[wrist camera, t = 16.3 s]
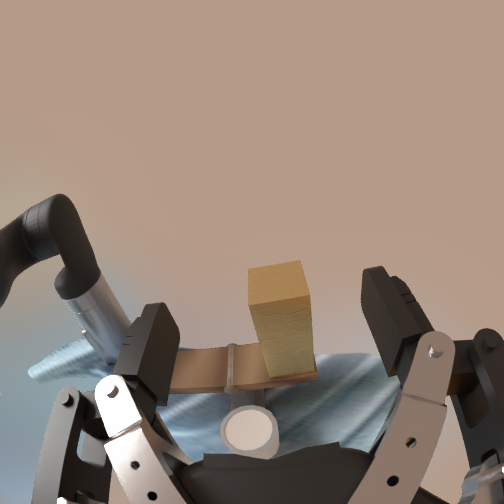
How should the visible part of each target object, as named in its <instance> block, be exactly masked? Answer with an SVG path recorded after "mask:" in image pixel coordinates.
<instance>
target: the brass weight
mask: <svg viewBox="0 0 504 504" xmlns="http://www.w3.org/2000/svg"><path fill="white" fill-rule="evenodd" d="M248 296H249V297H248V298H249V309H250V312H251V315H252V319H253V323H254V326H255V330H256V333H257V336H258V340H259V343H260V347H261V350H262V354H263V357H264V360H265V364H266V367H267V371H268V374H269V377H270V379H276V378H283V377H289V376H296V375H302V374H307V373H313V372H314V353H313V335H312V317H311V304H310V293H309V290H308V286H307V283H306V279H305V276H304V272H303V269H302V265H301V262H300V260H299V261H293V262H288V263H282V264H276V265H270V266H264V267H259V268H252V269H248Z"/></svg>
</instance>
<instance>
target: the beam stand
mask: <svg viewBox="0 0 504 504" xmlns="http://www.w3.org/2000/svg"><path fill="white" fill-rule="evenodd" d="M227 395H228V397H229V398H230V412H231V411H232V410H235V409H237V408H239V407H241V406H248V405H255V406H260V407H263V408H265V398H264V389H255V390H245V391H238V393H237V394H233V395H230V394H227Z"/></svg>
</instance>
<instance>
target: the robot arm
mask: <svg viewBox="0 0 504 504" xmlns="http://www.w3.org/2000/svg"><path fill="white" fill-rule="evenodd" d="M58 254H60V255H61V257H62V260H63V262H64V264H65V267H64V268H63V269H62V270H61V271H60V272H59V274H58V275H57V277H56V279H55V282H54V284H55V289H56V290H57V292H58V294H59V295H60V297H61V298H62V300H63V301H64V303H65V304H66V306H67V307H68V309H69V310H70V312H71V313H72V315H73V316H74V317H75V319H76V320H77V321H78V323H79V324H80V326H81V327H82V334H83V336H84V337H85V338H86V340H87V341H88V342H89V343H90V345H91V346H92V347H93V348H94V350H95V351H96V352H97V353H98V354H99V356H100V357H101V358H102V359H103V360H104V361H105V363H106V364H107V365H108V364H110V363H114V364H116V365H115V367H114V370H113V373H112V375H110V376H107V377H105V378H104V379H102V380H101V382H100V383H99V384H98V386H97V388H96V390H92V391H87V392H84V393H81V392H80V391H78V390H77V389H76V388H75V387H73V386H68V387H65V388H63V389H62V390H61V391H60V392H59V393H58V395H57V397H56V400H55V402H54V405H53V408H52V412H51V415H50V418H49V421H48V425H47V428H46V432H45V436H44V439H43V443H42V447H41V451H40V456H39V460H38V466H37V470H36V476H35V481H34V487H33V494H32V502H31V504H108V501H109V489H110V481H111V472H112V466H113V468H114V470H115V472H116V474H117V477H118V479H119V481H120V483H121V485H122V487H123V489H124V491H125V493H126V495H127V497H128V499H129V500H130V502H131V504H449V503H447V502H446V501H444V500H442V499H440V498H438V497H437V496H435V495H433V494H432V493H430V492H428V491H427V490H425V489H423V488H421V487H420V486H419V485H420V483H421V481H422V479H423V477H424V475H425V472H426V470H427V468H428V466H429V463H430V460H431V458H432V455H433V453H434V450H435V448H436V445H437V442H438V439H439V436H440V434H441V430H442V427H443V424H444V421H445V417H446V413H447V406H446V405H445V398H446V396H448V395H450V397H451V400H452V403H453V406H454V409H455V412H456V415H457V419H458V422H459V425H460V429H461V432H462V436H463V440H464V443H465V448H466V452H467V456H468V461H469V465H470V470H469V472H468V473H467V475H466V476H465V478H464V481H463V484H462V491H463V492H462V496H461V499H460V502H459V503H458V504H504V340H503V339H502V337H501V336H500V335H499V333H497V332H496V331H494V330H492V329H488V328H485V329H481V330H479V331H478V332H477V333H476V335H475V337H474V339H473V340H460V341H452V339H451V338H450V337H449V336H448V335H446V334H444V333H442V332H438V331H435V330H434V329H433V327H432V326H431V323H430V322H429V320H428V318H427V317H426V315H425V313H424V312H423V310H422V308H421V307H420V305H419V303H418V302H416V299H415V297H414V296H413V294H411V291H410V289H409V288H408V286H407V285H406V283H405V282H404V281H402V280H401V279H399V278H398V277H397V276H392V277H389V275H388V274H387V272H386V270H385V269H384V267H382V266H378V267H372V268H367V269H364V270H363V276H362V290H361V306H362V310H363V313H364V316H365V318H366V320H367V323H368V325H369V328H370V330H371V333H372V335H373V338H374V340H375V343H376V345H377V348H378V350H379V353H380V356H381V359H382V361H383V364H384V367H385V369H386V372H387V375H388V377H391V376H395V375H398V378H399V381H400V386H399V388H398V391H397V394H396V396H395V399H394V401H393V403H392V406H391V408H390V411H389V413H388V415H387V417H386V420H385V422H384V424H383V426H382V428H381V430H380V432H379V433H378V435H377V437H376V439H375V441H374V443H373V445H372V447H371V449H370V450H369V452H368V453H367V452H364V451H362V450H357V449H353V448H340V445H339V442H335V443H330V444H325V445H319V446H313V447H307V448H303V449H301V450H298V451H295V452H292V453H290V454H287V455H284V456H281V457H278V458H275V459H270V460H268V459H261V458H255V457H249V456H244V455H239V454H204V458H203V460H201V461H198V462H195V463H193V462H192V461H191V460H190V459H189V457H188V456H187V455H186V454H185V453H184V452H183V451H182V450H181V449H180V448H179V446H178V445H177V443H176V442H175V440H174V439H173V437H172V436H171V434H170V432H169V431H168V429H167V427H166V426H165V424H164V422H163V421H162V419H161V417H160V415H159V414H158V413H157V412H156V411H155V410H156V406H167V401H168V395H169V390H170V385H171V380H172V375H173V370H174V365H175V361H176V356H177V351H178V347H179V342H180V333H179V329H178V327H177V325H176V323H175V321H174V319H173V317H172V316H171V314H170V312H169V310H168V308H167V306H166V304H165V303H163V302H161V303H153V304H147V305H145V307H144V309H143V312H142V314H141V317H137V318H136V320H135V321H134V322H133V323H131V321H130V320H129V318H128V317H127V315H126V314H125V312H124V310H123V309H122V307H121V306H120V304H119V303H118V301H117V299H116V297H115V296H114V294H113V292H112V291H111V289H110V287H109V286H108V284H107V282H106V280H105V278H104V277H103V275H102V273H101V271H100V269H99V267H98V265H97V262H96V259H95V255H94V252H93V249H92V247H91V245H90V242H89V240H88V238H87V235H86V233H85V230H84V228H83V225H82V223H81V220H80V217H79V215H78V212H77V210H76V208H75V206H74V204H73V203H72V201H71V200H70V199H69V198H68V197H67V196H65V195H63V194H56V195H54V196H51V197H50V198H48V199H46V200H44V201H42V202H40V203H38V204H36V205H34V206H33V207H31V208H29V209H28V210H26V211H25V212H24V213H23V214H21V215H20V216H19V217H17V218H16V219H15V220H13V221H12V222H11V223H9V224H8V225H6V226H5V227H4V228H2V229H1V230H0V308H1V307H2V305H3V304H4V302H5V300H6V299H7V297H8V294H9V292H10V289H11V286H12V283H13V281H14V280H15V278H16V277H17V276H18V275H19V274H20V273H21V272H23V271H24V270H26V269H27V268H29V267H30V266H32V265H34V264H36V263H38V262H40V261H43V260H45V259H48V258H51V257H53V256H56V255H58ZM81 430H83V431H84V432H86V435H85V440H84V445H83V450H82V455H81V459H80V458H79V457H78V455H77V446H78V441H79V437H80V432H81Z"/></svg>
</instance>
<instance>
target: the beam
mask: <svg viewBox="0 0 504 504" xmlns="http://www.w3.org/2000/svg"><path fill="white" fill-rule="evenodd" d="M316 380H318V372H317V368H316V363H315V358H314V372H313V373H307V374H302V375H296V376H289V377H283V378H276V379H270V377H269V374H268V371H267V367H266V364H265V360H264V357H263V354H262V350H261V347H260V343H254V344H246V345H237V344H229V345H228V346H227V347H220V348H210V349H198V350H185V351H177V356H176V361H175V365H174V370H173V375H172V380H171V385H170V390H169V394H195V393H219V392H225V393H226V394H230V395H233V394H237V393H238V391H245V390H255V389H264V388H272V387H279V386H286V385H293V384H299V383H305V382H310V381H316Z"/></svg>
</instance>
